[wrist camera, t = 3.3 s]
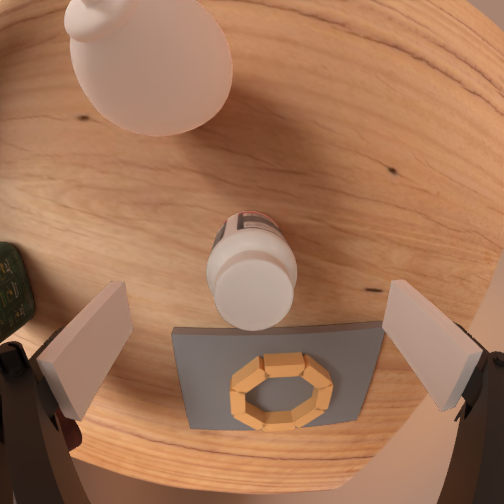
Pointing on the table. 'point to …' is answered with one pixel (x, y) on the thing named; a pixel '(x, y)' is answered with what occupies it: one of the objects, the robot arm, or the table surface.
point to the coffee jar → (13, 292)
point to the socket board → (275, 375)
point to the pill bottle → (251, 272)
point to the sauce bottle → (150, 62)
